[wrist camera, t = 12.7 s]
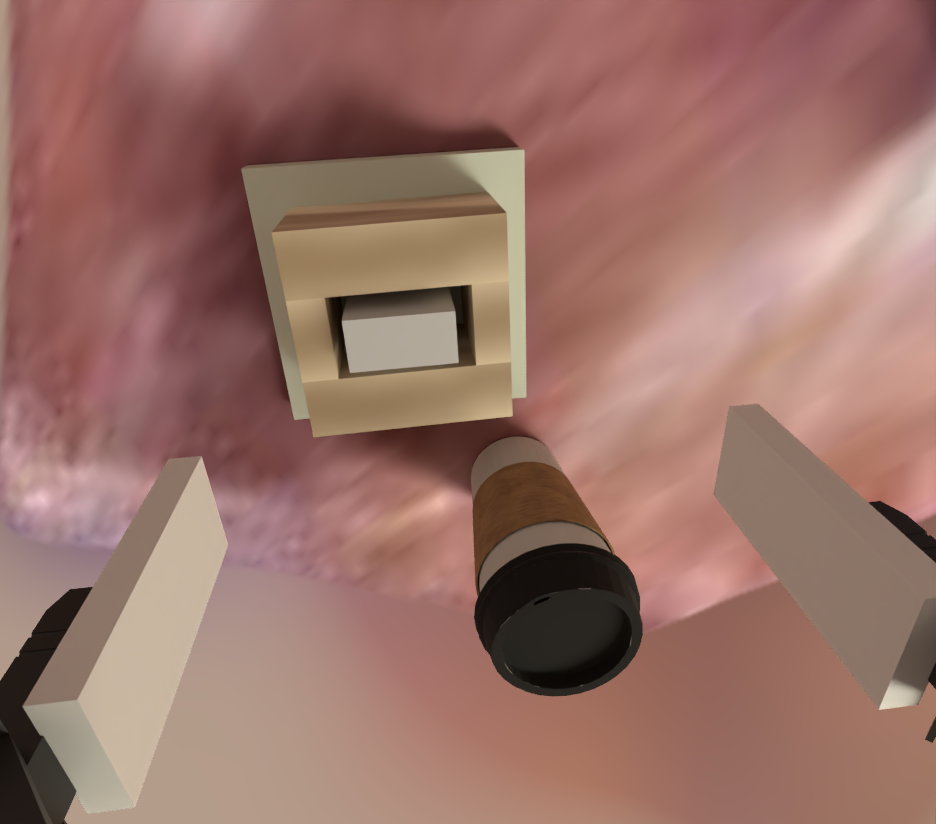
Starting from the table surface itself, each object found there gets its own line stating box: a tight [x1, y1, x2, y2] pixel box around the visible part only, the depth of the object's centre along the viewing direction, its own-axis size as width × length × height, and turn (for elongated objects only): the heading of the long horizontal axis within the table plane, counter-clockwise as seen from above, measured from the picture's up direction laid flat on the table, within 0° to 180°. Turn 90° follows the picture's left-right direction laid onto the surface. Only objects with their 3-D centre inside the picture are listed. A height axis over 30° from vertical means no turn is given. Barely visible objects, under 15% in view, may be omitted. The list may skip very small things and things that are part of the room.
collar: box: [271, 192, 513, 437], centre depth 31 cm, size 10×10×6 cm
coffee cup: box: [471, 437, 643, 696], centre depth 36 cm, size 8×8×15 cm
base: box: [241, 147, 526, 420], centre depth 32 cm, size 14×14×8 cm
